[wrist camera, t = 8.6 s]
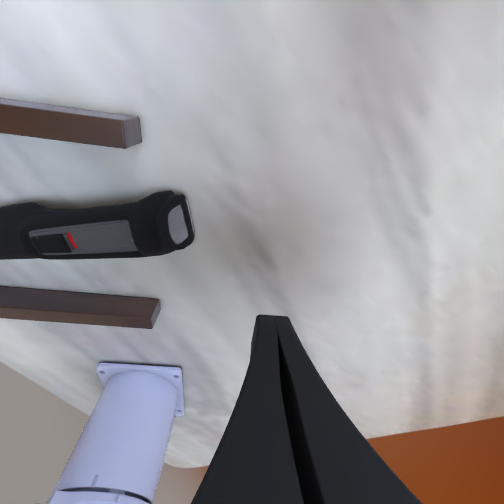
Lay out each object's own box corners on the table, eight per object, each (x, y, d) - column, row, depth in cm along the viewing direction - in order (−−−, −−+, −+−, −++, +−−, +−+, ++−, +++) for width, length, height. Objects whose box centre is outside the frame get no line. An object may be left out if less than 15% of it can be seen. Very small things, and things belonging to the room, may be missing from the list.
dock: (160, 309, 20) (152, 329, 18) (-57, 292, 18) (-88, 312, 17) (139, 116, 12) (122, 120, 11) (-227, 66, 11) (-312, 61, 9)
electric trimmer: (-67, 201, 15) (-138, 225, 12) (184, 185, 14) (169, 206, 11) (-25, 253, 17) (-77, 282, 14) (196, 240, 16) (185, 269, 14)
